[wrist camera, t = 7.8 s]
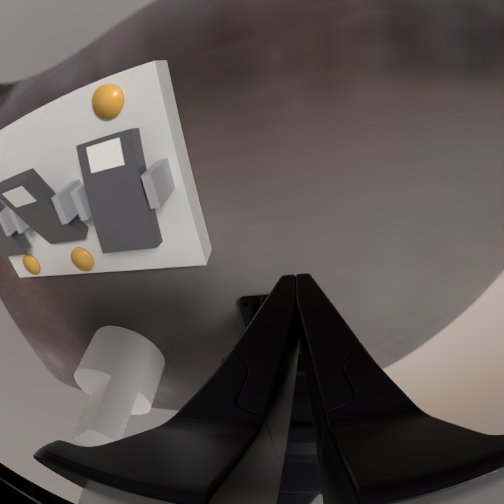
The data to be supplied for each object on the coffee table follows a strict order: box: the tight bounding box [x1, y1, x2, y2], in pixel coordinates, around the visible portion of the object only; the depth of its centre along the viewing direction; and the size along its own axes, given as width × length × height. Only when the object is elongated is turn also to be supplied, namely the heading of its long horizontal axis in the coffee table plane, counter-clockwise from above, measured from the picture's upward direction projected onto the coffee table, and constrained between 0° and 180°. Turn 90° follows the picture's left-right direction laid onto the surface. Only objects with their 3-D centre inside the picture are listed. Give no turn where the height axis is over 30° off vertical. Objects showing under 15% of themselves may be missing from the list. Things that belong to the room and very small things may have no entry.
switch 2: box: [0, 168, 89, 244], centre depth 18 cm, size 7×4×1 cm, turn 10°
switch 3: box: [76, 128, 163, 254], centre depth 17 cm, size 7×4×1 cm, turn 9°
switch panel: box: [0, 60, 212, 277], centre depth 20 cm, size 14×21×5 cm, turn 99°
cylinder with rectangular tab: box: [72, 326, 165, 447], centre depth 28 cm, size 9×9×12 cm
